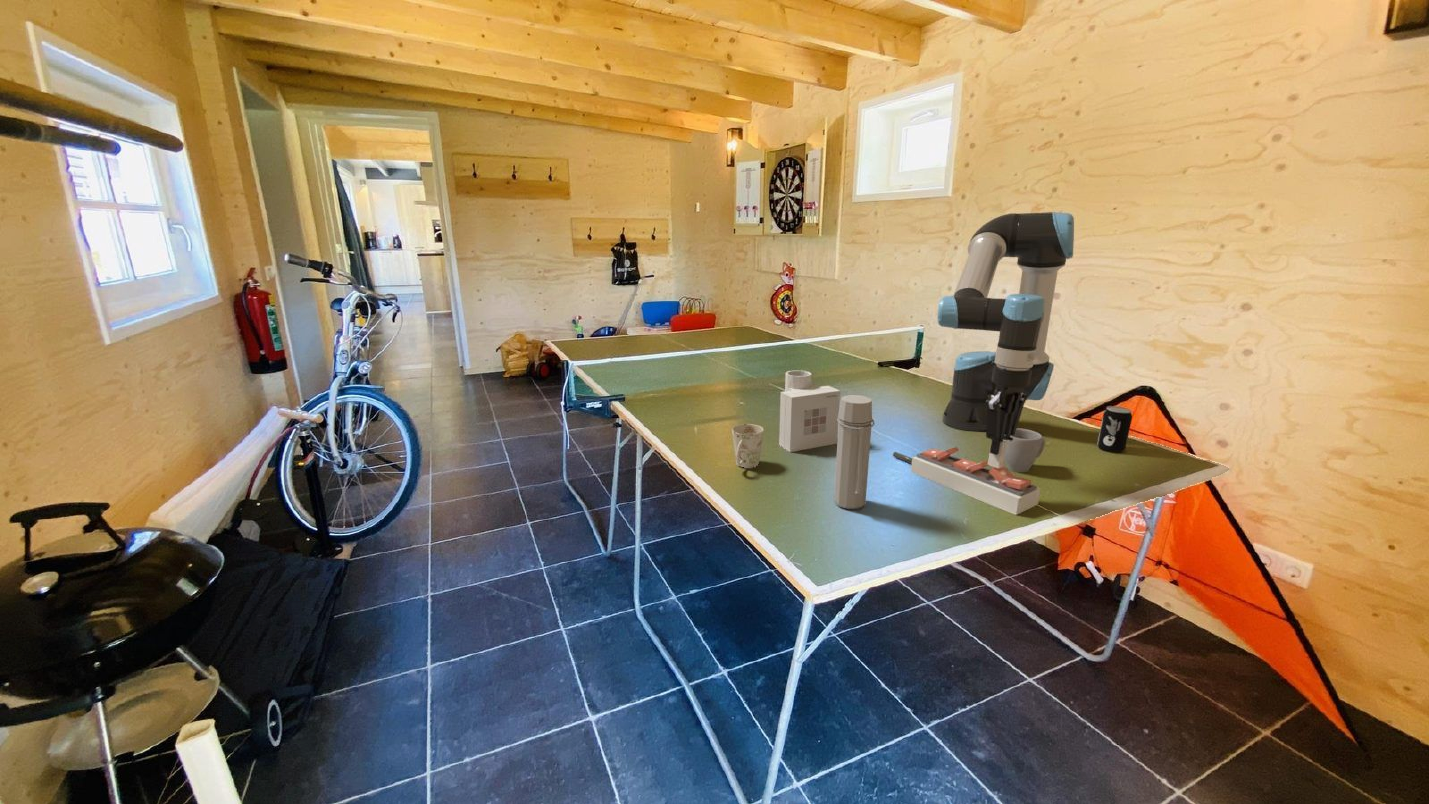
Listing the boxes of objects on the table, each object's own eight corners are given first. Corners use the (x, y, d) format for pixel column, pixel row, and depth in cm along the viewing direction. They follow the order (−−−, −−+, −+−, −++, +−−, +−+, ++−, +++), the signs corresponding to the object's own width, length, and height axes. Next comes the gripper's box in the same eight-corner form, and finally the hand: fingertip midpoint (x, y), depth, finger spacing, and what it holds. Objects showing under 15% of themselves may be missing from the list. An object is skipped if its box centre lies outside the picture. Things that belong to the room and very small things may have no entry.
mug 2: (1017, 477, 141) (1023, 441, 139) (990, 464, 149) (995, 430, 147) (1054, 470, 145) (1060, 435, 142) (1026, 458, 153) (1031, 425, 150)
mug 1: (766, 460, 153) (767, 425, 150) (754, 478, 142) (754, 441, 139) (737, 456, 156) (737, 422, 153) (722, 474, 144) (722, 438, 141)
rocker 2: (986, 476, 129) (989, 468, 128) (997, 472, 132) (1000, 463, 131) (1018, 494, 124) (1021, 485, 123) (1029, 489, 126) (1032, 480, 125)
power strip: (883, 460, 152) (884, 444, 151) (905, 453, 157) (906, 437, 155) (1015, 515, 123) (1019, 495, 121) (1037, 504, 127) (1041, 485, 126)
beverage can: (1129, 454, 155) (1138, 413, 152) (1102, 452, 156) (1111, 412, 153) (1117, 446, 161) (1126, 406, 158) (1092, 444, 163) (1100, 405, 159)
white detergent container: (790, 452, 158) (792, 384, 152) (758, 432, 175) (759, 369, 169) (837, 443, 165) (841, 377, 159) (803, 425, 181) (805, 364, 175)
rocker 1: (923, 461, 144) (921, 452, 144) (934, 457, 146) (932, 448, 146) (949, 459, 137) (946, 450, 137) (960, 455, 140) (958, 446, 140)
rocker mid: (953, 471, 137) (951, 462, 137) (964, 467, 139) (963, 458, 139) (983, 473, 130) (981, 463, 130) (994, 468, 132) (992, 459, 132)
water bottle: (828, 497, 132) (834, 394, 124) (860, 495, 132) (868, 393, 125) (839, 516, 123) (846, 407, 116) (874, 514, 123) (883, 406, 116)
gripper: (1012, 374, 116) (993, 478, 123) (1046, 366, 123) (1026, 465, 130) (979, 366, 122) (963, 466, 129) (1013, 359, 129) (996, 454, 136)
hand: (995, 465), depth 129 cm, fingers closed
